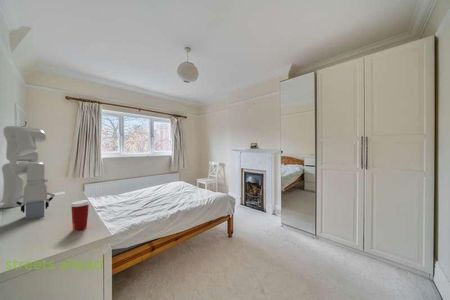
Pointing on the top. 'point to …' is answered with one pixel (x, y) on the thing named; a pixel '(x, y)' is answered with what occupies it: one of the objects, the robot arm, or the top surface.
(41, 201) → the pale blue-grey cube
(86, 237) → the top surface
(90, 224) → the top surface
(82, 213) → the paper cup
